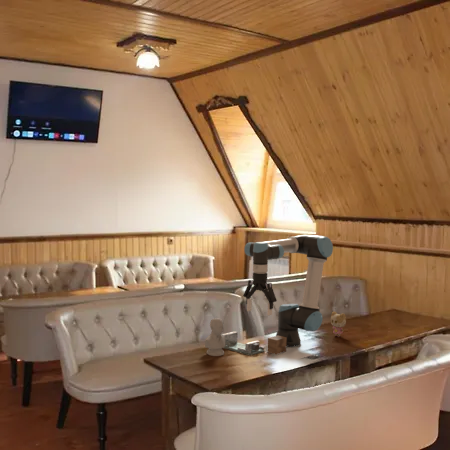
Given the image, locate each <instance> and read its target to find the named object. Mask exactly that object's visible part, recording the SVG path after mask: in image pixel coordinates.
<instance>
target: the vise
mask: <svg viewBox="0 0 450 450" xmlns="http://www.w3.org/2000/svg"><path fill="white" fill-rule="evenodd" d="M238 334H239V333H238V331H231V332H227V333H221V335H222V336H224V337H225V347H224V348H223V349H225V350H230V351H233V352H236V353H240V354H243V355H246V356H253V355H257V354H261V353H264V352H265V347H264V346H262V345H261V346H260V345H259V350H251V351H250V350H246V349H245V343H242V342H238Z"/></svg>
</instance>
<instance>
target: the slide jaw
mask: <svg viewBox="0 0 450 450" xmlns="http://www.w3.org/2000/svg"><path fill="white" fill-rule="evenodd" d="M244 344H245V349H246V350H250V351H251V350H259V346H260V344H261V343H260V341H259V340H253V341H250V342H249V341H248V342H246V343H244Z"/></svg>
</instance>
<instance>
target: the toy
mask: <svg viewBox="0 0 450 450" xmlns="http://www.w3.org/2000/svg"><path fill="white" fill-rule="evenodd" d="M346 318H347V317H346V314H345V313H337V311H332V312H331V316H330V324H331V325H332V330H333V332H332V333H333V334H334V335H335V337H338V338H340V337H341V334H344V333H343V332H344V328H343V327H345V326H346V323H347V319H346Z"/></svg>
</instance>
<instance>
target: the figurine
mask: <svg viewBox="0 0 450 450" xmlns="http://www.w3.org/2000/svg"><path fill="white" fill-rule="evenodd" d="M209 326H210V330H211V333H209V335H208V336H207V337H206V338H205V340H204V347H205V348H206V349H207V350H206V354H207V355H209V356H212V357H220V356H224V355H225V351H224V350H223V349H225V348H224V347H225V337H224V336H222V335H221V334H223V333H222V332H223V330H224V326H223V319H221V318H218V317H214V318H212V319H211V320H210V323H209Z"/></svg>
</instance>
